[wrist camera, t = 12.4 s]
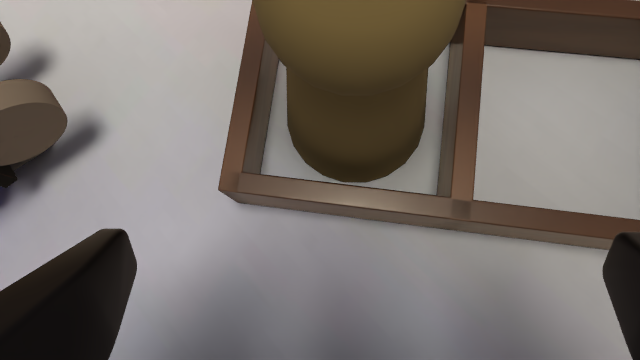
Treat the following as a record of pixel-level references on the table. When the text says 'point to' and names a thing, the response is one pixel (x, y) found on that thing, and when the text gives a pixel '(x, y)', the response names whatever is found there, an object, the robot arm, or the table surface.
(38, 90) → the figurine character
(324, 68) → the cork
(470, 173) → the frame
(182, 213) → the table surface
